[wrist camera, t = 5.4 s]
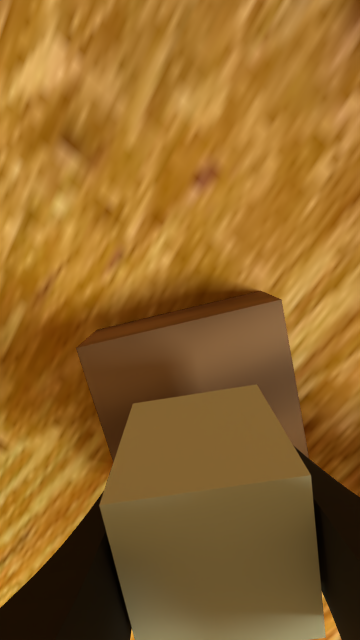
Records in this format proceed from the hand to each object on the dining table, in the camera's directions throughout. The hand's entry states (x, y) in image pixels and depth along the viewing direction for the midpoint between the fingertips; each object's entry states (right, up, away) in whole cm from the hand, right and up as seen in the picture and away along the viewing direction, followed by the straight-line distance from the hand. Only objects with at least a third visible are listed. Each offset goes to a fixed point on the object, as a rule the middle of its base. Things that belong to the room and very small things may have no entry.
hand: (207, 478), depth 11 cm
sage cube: (0, 0, +1) cm, 2 cm away
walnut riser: (0, +2, +8) cm, 8 cm away
